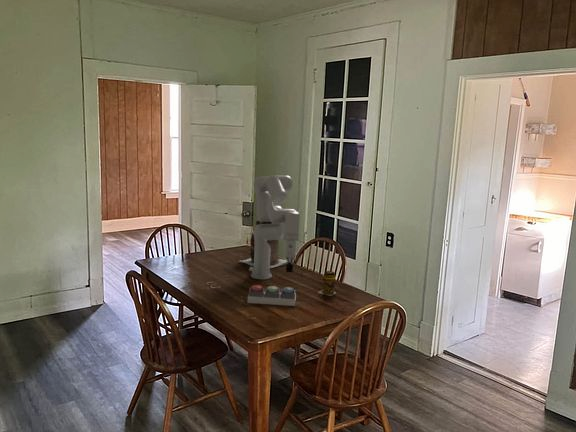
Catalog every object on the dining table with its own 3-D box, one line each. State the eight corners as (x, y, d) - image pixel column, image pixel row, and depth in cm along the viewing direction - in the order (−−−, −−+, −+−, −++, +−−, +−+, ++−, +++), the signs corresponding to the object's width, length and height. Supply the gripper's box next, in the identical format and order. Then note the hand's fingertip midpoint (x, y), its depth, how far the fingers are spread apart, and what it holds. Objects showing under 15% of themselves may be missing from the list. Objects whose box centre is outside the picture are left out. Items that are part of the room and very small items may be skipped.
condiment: (331, 296, 255) (332, 274, 253) (317, 293, 259) (318, 271, 257) (336, 292, 261) (338, 271, 259) (322, 289, 266) (324, 268, 263)
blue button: (282, 293, 240) (283, 290, 240) (283, 290, 245) (283, 286, 245) (293, 294, 240) (293, 290, 239) (293, 291, 245) (293, 287, 245)
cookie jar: (263, 256, 329) (265, 210, 323) (290, 263, 314) (293, 216, 308) (237, 262, 310) (239, 214, 304) (265, 271, 295) (267, 220, 289)
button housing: (247, 302, 239) (247, 292, 238) (249, 296, 249) (250, 286, 248) (295, 305, 238) (295, 295, 237) (295, 299, 248) (296, 288, 247)
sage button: (266, 292, 240) (267, 289, 240) (267, 289, 245) (267, 285, 245) (277, 293, 240) (277, 289, 240) (277, 290, 245) (278, 286, 245)
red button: (251, 291, 240) (251, 288, 240) (252, 288, 246) (252, 284, 245) (261, 292, 240) (261, 288, 240) (262, 289, 245) (262, 285, 245)
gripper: (298, 239, 230) (296, 276, 233) (299, 233, 245) (297, 268, 248) (282, 239, 230) (281, 275, 233) (284, 232, 245) (282, 267, 248)
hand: (289, 271), depth 240 cm, fingers closed
